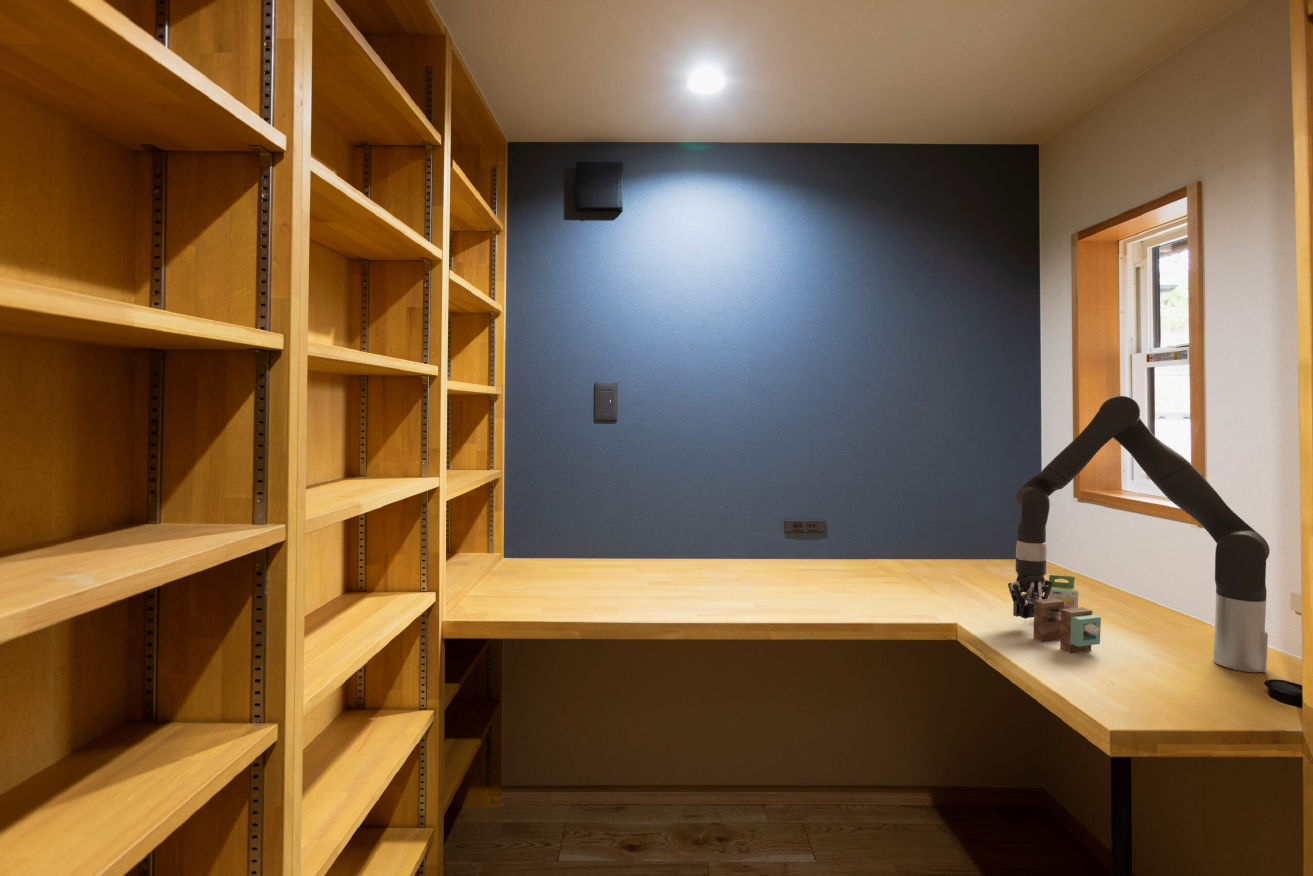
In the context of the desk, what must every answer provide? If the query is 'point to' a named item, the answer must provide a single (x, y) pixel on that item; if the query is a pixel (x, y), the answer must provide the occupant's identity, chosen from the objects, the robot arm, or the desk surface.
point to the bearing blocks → (1057, 624)
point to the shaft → (1051, 615)
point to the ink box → (1064, 591)
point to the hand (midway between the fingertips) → (1029, 616)
